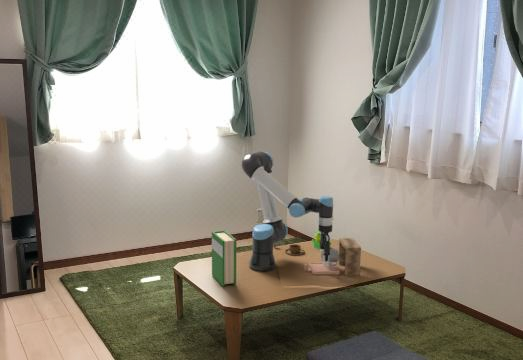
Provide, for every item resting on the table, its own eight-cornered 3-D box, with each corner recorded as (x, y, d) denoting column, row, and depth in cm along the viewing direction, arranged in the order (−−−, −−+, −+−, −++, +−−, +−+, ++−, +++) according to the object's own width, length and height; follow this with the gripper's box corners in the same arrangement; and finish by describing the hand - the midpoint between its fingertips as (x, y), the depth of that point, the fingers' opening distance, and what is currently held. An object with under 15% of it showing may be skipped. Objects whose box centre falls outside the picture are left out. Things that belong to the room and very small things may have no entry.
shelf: (345, 275, 280) (346, 247, 277) (338, 264, 298) (339, 238, 295) (359, 275, 281) (361, 247, 278) (351, 264, 298) (353, 238, 296)
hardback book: (236, 284, 265) (236, 239, 261) (222, 286, 262) (222, 240, 258) (224, 273, 281) (224, 230, 277) (211, 274, 278) (211, 231, 274)
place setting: (287, 258, 308) (287, 249, 307) (270, 249, 326) (271, 240, 325) (311, 254, 316) (311, 245, 315) (294, 245, 334) (294, 236, 333)
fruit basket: (332, 250, 323) (332, 232, 321) (320, 252, 319) (321, 234, 317) (320, 245, 333) (321, 228, 331) (309, 247, 328) (310, 230, 326)
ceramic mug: (319, 259, 292) (321, 246, 290) (333, 259, 294) (334, 246, 292) (326, 267, 282) (328, 254, 280) (340, 266, 284) (342, 253, 282)
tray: (306, 274, 280) (306, 269, 280) (302, 265, 295) (302, 260, 294) (339, 274, 282) (339, 268, 281) (334, 265, 296) (334, 260, 295)
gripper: (336, 229, 273) (334, 269, 277) (328, 219, 295) (327, 256, 299) (322, 229, 273) (321, 270, 276) (315, 219, 294) (314, 256, 298)
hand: (324, 263), depth 288 cm, fingers closed on ceramic mug, 9 cm apart
